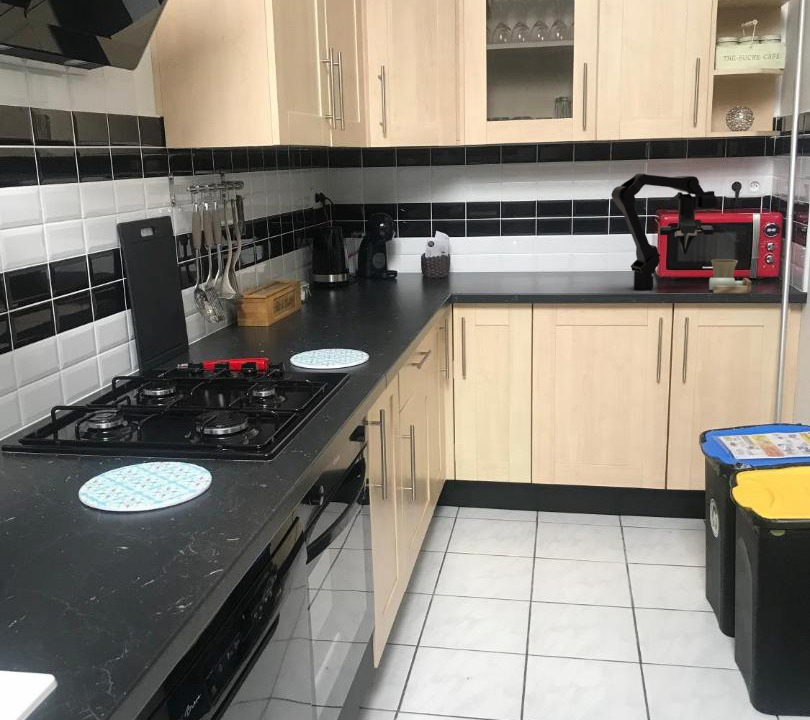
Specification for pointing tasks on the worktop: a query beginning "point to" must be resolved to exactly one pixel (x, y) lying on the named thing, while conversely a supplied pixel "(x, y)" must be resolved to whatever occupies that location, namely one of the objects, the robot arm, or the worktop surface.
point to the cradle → (734, 288)
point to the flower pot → (723, 268)
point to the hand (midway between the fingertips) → (684, 253)
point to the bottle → (724, 282)
